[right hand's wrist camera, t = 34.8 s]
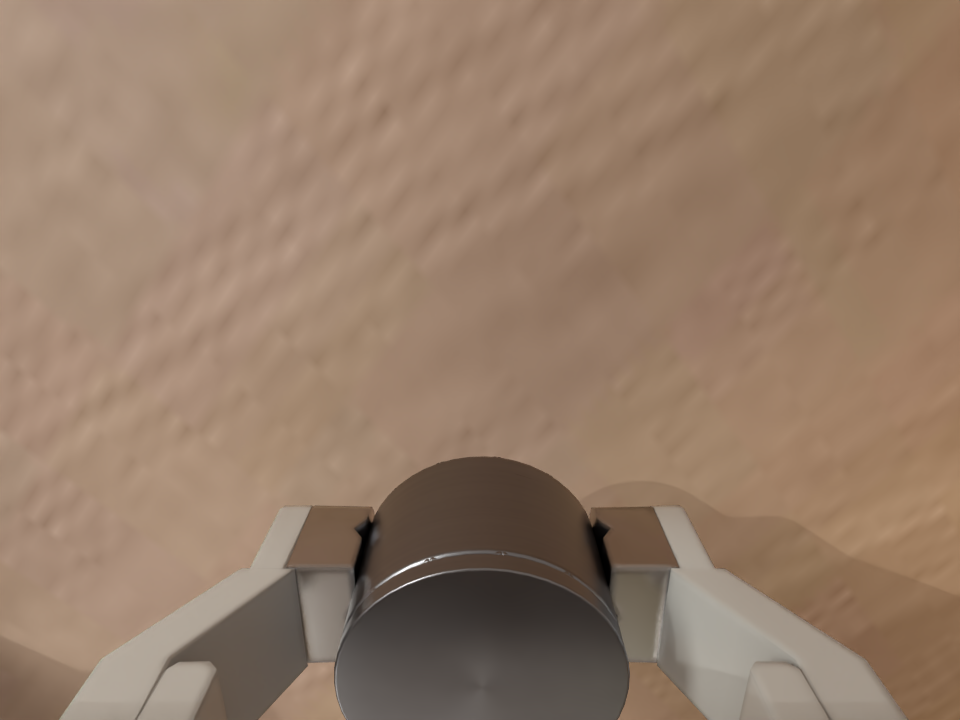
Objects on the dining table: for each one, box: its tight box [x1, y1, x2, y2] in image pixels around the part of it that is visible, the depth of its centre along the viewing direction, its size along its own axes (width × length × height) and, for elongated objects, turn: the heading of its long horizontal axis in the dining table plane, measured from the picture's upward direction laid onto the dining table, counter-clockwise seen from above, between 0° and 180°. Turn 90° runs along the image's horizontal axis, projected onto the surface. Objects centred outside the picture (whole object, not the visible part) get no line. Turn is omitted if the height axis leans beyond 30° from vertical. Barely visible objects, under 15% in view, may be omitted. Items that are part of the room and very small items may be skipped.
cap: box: [334, 457, 630, 720], centre depth 9 cm, size 4×4×3 cm
